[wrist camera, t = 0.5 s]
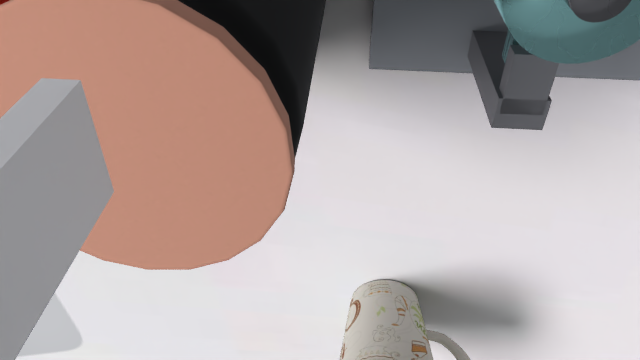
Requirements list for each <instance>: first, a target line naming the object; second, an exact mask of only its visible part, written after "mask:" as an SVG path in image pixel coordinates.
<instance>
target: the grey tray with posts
mask: <svg viewBox="0 0 640 360" xmlns="http://www.w3.org/2000/svg"><path fill="white" fill-rule="evenodd" d="M507 33H508V27H507V25H506V23H505V22H504V20H503V18H502V16H501V14H500V12H499V10H498V8H497V6H496V4H495V2H494V1H493V0H374V4H373V18H372V31H371V44H370V58H369V69H386V70H409V71H432V72H456V73H473V74H474V77H475V80H476V83H477V86H478V89H479V92H480V95H481V98H482V101H483V104H484V107H485V110H486V113H487V116H488V119H489V122H490V125H491V128H511V129H532V130H542V129H543V126H544V123H545V120H546V117H547V114H548V111H549V108H550V104H551V101H552V100H551V98H550V97H549V94H550V90H551V87H552V84H553V81H554V78H555V77H572V78H596V79H619V80H640V40H638V41H637V42H635V43H634V44H632V45H631V46H629V47H627V48H625V49H624V50H622V51H620V52H618V53H615V54H613V55H611V56H608V57H605V58H602V59H599V60H595V61H591V62H586V63H578V64H564V63H555V62H551V61H547V60H544V59H541V58H539V57H536V56H535V55H533V54H531V53H529V52H528V51H527V50H525V49H524V48H523V47H522V46H521V45H510V46H509V50H508V54H507V58H506V62H504V60H503V58H502V53H503V49H504V45H505V41H506V37H507Z"/></svg>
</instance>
